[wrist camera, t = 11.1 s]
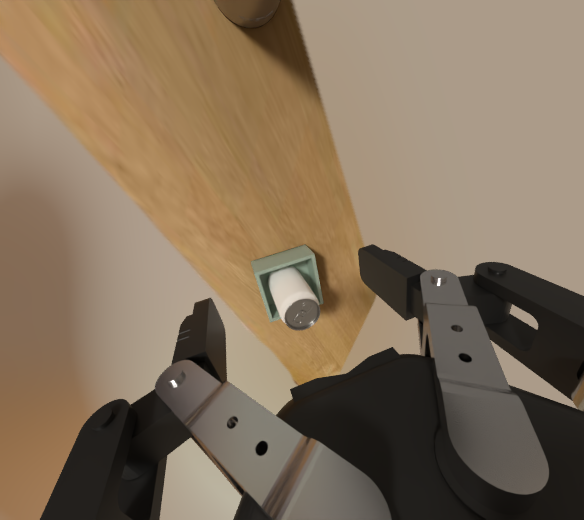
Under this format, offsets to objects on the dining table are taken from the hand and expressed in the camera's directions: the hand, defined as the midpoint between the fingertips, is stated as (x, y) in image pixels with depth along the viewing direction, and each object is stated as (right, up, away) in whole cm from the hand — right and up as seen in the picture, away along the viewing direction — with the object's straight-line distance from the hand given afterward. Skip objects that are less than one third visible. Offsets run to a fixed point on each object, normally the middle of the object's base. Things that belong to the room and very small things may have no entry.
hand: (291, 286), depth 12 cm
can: (-2, -2, +33) cm, 34 cm away
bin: (-1, -2, +34) cm, 34 cm away
